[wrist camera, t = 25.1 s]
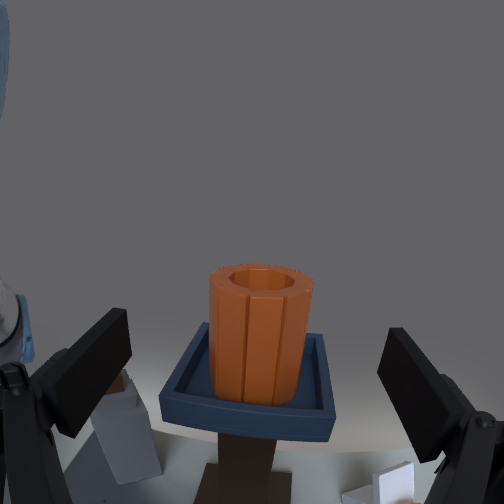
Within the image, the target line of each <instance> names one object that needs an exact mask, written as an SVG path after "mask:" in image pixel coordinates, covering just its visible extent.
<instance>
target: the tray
mask: <svg viewBox="0 0 504 504" xmlns="http://www.w3.org/2000/svg"><path fill="white" fill-rule="evenodd" d="M159 402H160V408H161V414H162V420H163V421H164V422H168V423H173V424H177V425H182V426H186V427H191V428H196V429H202V430H207V431H212V432H218V465H217V464H211V463H207V464H206V467H205V470H204V474H203V477H202V480H201V483H200V486H199V489H198V492H197V495H196V498H195V501H194V504H290V502H291V483H292V473H285V472H271V469H272V464H273V459H274V454H275V448H276V443H277V440H286V441H303V442H328V441H329V438H330V435H331V432H332V429H333V426H334V423H335V420H336V413H335V406H334V399H333V393H332V387H331V381H330V374H329V368H328V362H327V356H326V351H325V345H324V339H323V335H322V334H311V333H306V339H305V345H304V351H303V357H302V363H301V369H300V375H299V381H298V385H297V390H296V394H295V396H293V399H291V400H290V401H288V402H286V403H284V404H282V405H281V406H279V407H273V406H263V405H254V404H245V403H238V402H230V401H224V400H221V399H219V398H218V396H216V395H215V393H214V391H213V388H212V386H211V384H210V381H209V323H205V322H203V323H202V325H201V326H200V328H199V329H198V331H197V333H196V334H195V336H194V338H193V339H192V341H191V343H190V344H189V346H188V347H187V349H186V351H185V352H184V354H183V356H182V357H181V359H180V361H179V362H178V364H177V366H176V367H175V369H174V371H173V372H172V374H171V376H170V377H169V379H168V381H167V382H166V384H165V386H164V387H163V389H162V391H161V392H160V394H159Z"/></svg>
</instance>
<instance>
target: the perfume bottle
mask: <svg viewBox="0 0 504 504" xmlns="http://www.w3.org/2000/svg"><path fill="white" fill-rule="evenodd" d="M90 418H91V422H92V425H93V427H94V430H95V433H96V435H97V438H98V440H99V443H100V445H101V448H102V450H103V452H104V455H105V457H106V459H107V461H108V464H109V466H110V468H111V470H112V472H113V474H114V477H115V479H116V481H117V483H118V485H123V484H127V483H132V482H136V481H140V480H144V479H148V478H151V477H155V476H159V475H162V470H161V466H160V463H159V459H158V455H157V451H156V447H155V443H154V438H153V434H152V429H151V425H150V421H149V416H148V411H147V410H146V407H145V405H144V403H143V402H142V399H141V397H140V395H139V394H138V391H137V389H136V387H135V385H134V383H133V381H132V379H130V378H129V376H128V374H127V371H126V369H122V370H121V372H120V373H119V375H118V376H117V377H116V379H115V380H114V382H113V383H112V385H111V386H110V387H109V389H108V390H107V392H106V393H105V395H104V396H103V397H102V399H101V400H100V402H99V403H98V405H97V406H96V408H95V409H94V411H93V412H92V414H91V415H90Z"/></svg>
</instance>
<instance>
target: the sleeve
mask: <svg viewBox="0 0 504 504" xmlns="http://www.w3.org/2000/svg"><path fill="white" fill-rule="evenodd" d="M312 289H313V281H312V279H311V278H309V277H307V276H305V275H304V274H302V273H301V272H299V271H297V272H296V270H293V269H288V268H283V267H279V266H275V265H274V266H272V267H271V265H259V264H246V265H243V264H241V265H234V266H228V267H223V268H222V269H221V268H220V269H218V270H217V271H216V272H214V273H213V274H212V275H210V278H209V381H210V384H211V386H212V388H213V391H214V393H215V395H216V396H218V398H219V399H221V400H224V401H230V402H238V403H245V404H254V405H263V406H273V407H279V406H281V405H282V404H284V403H286V402H288V401H290V400H291V399H293V396H295V394H296V390H297V385H298V381H299V375H300V369H301V363H302V357H303V351H304V345H305V339H306V332H307V325H308V318H309V311H310V304H311V297H312Z"/></svg>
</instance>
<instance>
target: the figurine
mask: <svg viewBox="0 0 504 504" xmlns="http://www.w3.org/2000/svg"><path fill="white" fill-rule="evenodd" d="M372 479H373V485H367V486H364V487H361V488H358V489H355V490H352V491H349V492H345V493H342V504H420V503H413V496H414V469H413V462H408V461H405V462H403V463H401V464H398V465H396V466H393V467H391V468H388V469H385V470H383V471H380V472H377V473H374V474H372Z"/></svg>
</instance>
